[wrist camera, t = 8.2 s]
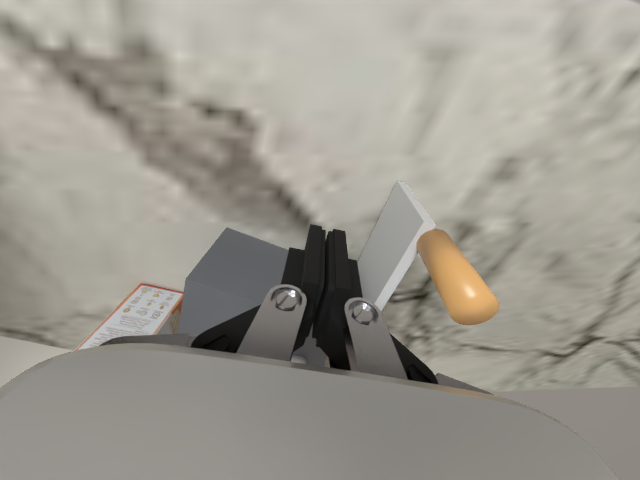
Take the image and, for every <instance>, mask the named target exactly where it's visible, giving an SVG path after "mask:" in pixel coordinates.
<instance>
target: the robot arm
mask: <svg viewBox="0 0 640 480" xmlns="http://www.w3.org/2000/svg"><path fill="white" fill-rule="evenodd" d="M325 234H326V230H322V226H317V225H312V224H311V225H310V228H309V233H308V237H307V242H306V246H305V250H300V249H295V248H289V252H288V256H287V260H286V264H285V268H284V273H283V277H282V281H281V285H277V286H275V287H273V288H271V289H270V290H269V292H268V293H267V295H266V297H265V299H264V301H263V303H262V304H261V305H258V306H256V307H254V308H252V309H250V310H248V311H246V312H244V313H242V314H239V315H237V316H235V317H233V318H231V319H229V320H227V321H225V322H223V323H221V324H218V325H216V326H214V327H212V328H210V329H208V330H206V331H204V332H203V333H201V334H199V335H198V336H190V337H189V333H185V334H162V335H140V336H122V337H117V338H113V339H110V340H108V341H106V342H104V343H102V344H101V345H99V346H97V347H92V348H86V349H80V350H77V351H73V352H69V353H65V354H62V355H59V356H55V357H53V358H50V359H48V360H45V361H43V362H41V363H38V364H36V365H35V366H33V367H31V368H29V369H27V370H26V371H24V372H22V373H21V374H20V375H18V376H16V377H15V378H13V379H12V380H11V381H9V382H8V383H6V384H5V385H4V386H2V387H1V388H0V480H621V479H620V478H619V477H618V476H617V474H616V473H615V472H614V471H613V469H612V468H611V467H610V466H609V465H608V464H607V462H606V461H605V460H604V459H603V458H602V456H601V455H600V454H599V453H598V452H597V451H596V450H595V449H594V448H593V447H592V446H591V445H590V443H588V442H587V441H586V440H585V439H584V438H583V437H581V436H580V435H579V434H578V433H576V432H575V431H573V430H572V429H570V428H569V427H568V426H566V425H564V424H563V423H561V422H560V421H558V420H556V419H554V418H552V417H550V416H548V415H546V414H545V413H543V412H541V411H539V410H536V409H533V408H531V407H529V406H526V405H524V404H521V403H519V402H516V401H512V400H509V399H506V398H502V397H499V396H495V395H493V394H491V393H489V392H487V391H484V390H482V389H479V388H476V387H474V386H471V385H469V384H466V383H463V382H461V381H458V380H456V379H453V378H450V377H448V376H445V375H443V374H440V373H437V374H436V375H434V374H433V372H432V371H431V370H430V369H429V368H428V367H427V366H426V365H425V364H424V363H423V362H422V361H421V360H419V359H418V358H417V357H416V356H415V355H414V354H413V353H412V352H410V351H409V350H408V349H407V348H406V347H405V346H404V345H402V344H401V343H400V342H399V341H398V340H397V339H396V338H394V337H393V336H392V335H391V334H390V333H389V331H388V328H387V326H386V323H385V321H384V318H383V316H382V313H381V311H380V310H379V308H378V307H377V306H376V305H375V304H374V303H372V302H371V301H369V300H367V299H364V298H363V295H362V289H361V283H360V277H359V270H358V264H357V261H356V260H351V259H348V253H347V244H346V235H345V231H341V230H336V229H333V232H331V231H329V232H328V235H327V238H326V242H325ZM312 324H313V327H312ZM311 327H312V338H315V339H316V347H320V348H321V350H322V351H323V352H324V353H325V354H326V355H325V367H322V366H316V365H309V364H303V363H296V362H291V359H292V356H293V352H294V351H296V350H297V349H299V348H300V347H302V346H303V345H304V343H305V340H306V337H309V334H310V330H311Z"/></svg>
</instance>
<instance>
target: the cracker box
mask: <svg viewBox="0 0 640 480" xmlns="http://www.w3.org/2000/svg"><path fill="white" fill-rule="evenodd" d="M183 294H184V293H182V292H178V291H173V290H168V289H164V288H159V287H155V286H150V285H146V284H140V285H139V286H138V287H137V288H136V289H135V290H134V291H133V292H132V293H131V294H130V295H129V296H128V297H127V298H126V299H125V300H124V301H123V302H122V303H121V304H120V305H119V306H118V307H117V308H116V309H115V310H114V311H113V312H112V313H111V314H110V315H109V316H108V317H107V318H106V319H105V320H104V321H103V322H102V323H101V324H100V325H99V326H98V327H97V328H96V329H95V330H94V331H93V332H92V333H91V334H90V335H89V336H88V337H87V338H86V339H85V340H84V341H83V342H82V343H81V344H80V345H79V346H78V347H77V348H76V349H75V350H74V351H77V350H80V349H86V348H92V347H97V346H99V345H101V344H102V343H104V342H106V341H108V340H110V339H113V338H117V337H122V336H140V335H162V334H177V333H178V327H179V320H180V314H181V307H182V301H183Z"/></svg>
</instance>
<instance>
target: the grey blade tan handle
mask: <svg viewBox="0 0 640 480" xmlns="http://www.w3.org/2000/svg"><path fill="white" fill-rule="evenodd" d="M435 226H436V225H435V223H434V222H433V220H432V219H431V218H430V216H429V215H428V213H427V212H426V211H425V209H424V208H423V207H422V205H421V204H420V202H419V201H418V200H417V198H416V197H415V195H414V194H413V193H412V191H411V190H410V189H409V187H408V186H407V184H406V183H403V182H400V181H397V182H396V184H395V186H394V188H393V190H392V192H391V195H390V197H389V199H388V201H387V203H386V205H385V207H384V209H383V211H382V213H381V215H380V217H379V219H378V221H377V223H376V225H375V228H374V230H373V232H372V234H371V236H370V238H369V240H368V242H367V244H366V246H365V248H364V250H363V252H362V254H361V256H360V259H359V261H358V263H357V264H358V270H359V277H360V283H361V289H362V295H363V298H364V299H367V300H369V301H371V302H372V303H374V304H375V305H376V306H377V307H378V308H379V310H380V311H382V309H383V307H384V306H385V304H386V303H387V301H388V300H389V298H390V296H391V295H392V293H393V292H394V290H395V289H396V287H397V285H398V284H399V282H400V281H401V279H402V278H403V276H404V274H405V273H406V271H407V270H408V268H409V267H410V265H411V263H412V262H413V260H414V259H415V257H416V256H417V254H418V252H419V254H420V256H421V258H422V260H423V262H424V264H425V266H426V268H427V270H428V272H429V274H430V276H431V278H432V280H433V282H434V284H435V286H436V288H437V290H438V292H439V294H440V296H441V298H442V300H443V302H444V304H445V306H446V308H447V310H448V312H449V314H450V316H451V318H452V319H453V320H454V321H455V322H457V323H459V324H463V325H475V324H479V323H482V322H485V321H487V320H489V319H490V318H492V317H493V316H494V315H495V314H496V313H497V311H498V309H499V302H498V300H497V299H496V297H495V296H494V295H493V293H492V292H491V291H490V289H489V288H488V287H487V285H486V284H485V283H484V281H483V280H482V279H481V277H480V276H479V275H478V274H477V272H476V271H475V270H474V268H473V267H472V266H471V264H470V263H469V262H468V260H467V259H466V258H465V256H464V255H463V254H462V252H461V251H460V250H459V248H458V247H457V246H456V244H455V243H454V242H453V241H452V239H451V238H450V237H449V235H448V234H447V233H446V232H445V231H443V230H438V229H434V227H435ZM433 229H434V230H433Z"/></svg>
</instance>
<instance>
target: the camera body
mask: <svg viewBox="0 0 640 480" xmlns="http://www.w3.org/2000/svg"><path fill="white" fill-rule="evenodd" d="M288 252H289V250H286V249H283V248H281V247H278V246H275V245H273V244H270V243H267V242H264V241H262V240H259V239H256V238H254V237H251V236H248V235H245V234H243V233H240V232H237V231H235V230H232V229H229V228H226V229H225V230H224V232H223V233H222V234H221V235H220V237H219V238H218V239H217V240H216V242H215V243H214V244H213V245H212V247H211V248H210V249H209V250H208V252H207V253H206V254H205V255H204V257H203V258H202V259H201V260H200V262H199V263H198V264H197V265H196V267H195V268H194V269H193V270H192V272H191V273H190V274H189V275H188V277H187V278H186V281H185V287H184V294H183V301H182V307H181V314H180V320H179V327H178V333H177V334H185V333H189V337H190V336H198V335H199V334H201V333H203V332H204V331H206V330H208V329H210V328H212V327H214V326H216V325H218V324H221V323H223V322H225V321H227V320H229V319H231V318H233V317H235V316H237V315H239V314H242V313H244V312H246V311H248V310H250V309H252V308H254V307H256V306H258V305H261V304H262V303H263V301H264V299H265V297H266V295H267V293H268V292H269V290H270V289H271V288H273V287H275V286H277V285H281V281H282V277H283V273H284V268H285V264H286V260H287V256H288ZM312 327H313V324H312ZM312 327H311V330H310V334H309V337H306V340H305V343H304V345H303V346H302V347H300V348H299V349H297V350H296V351H294V352H293V356H292V359H291V362H296V363H303V364H309V365H316V366H322V367H325V355H326V354H325V353H324V352H323V351H322V350H321V348H320V347H316V339H315V338H312Z"/></svg>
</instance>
